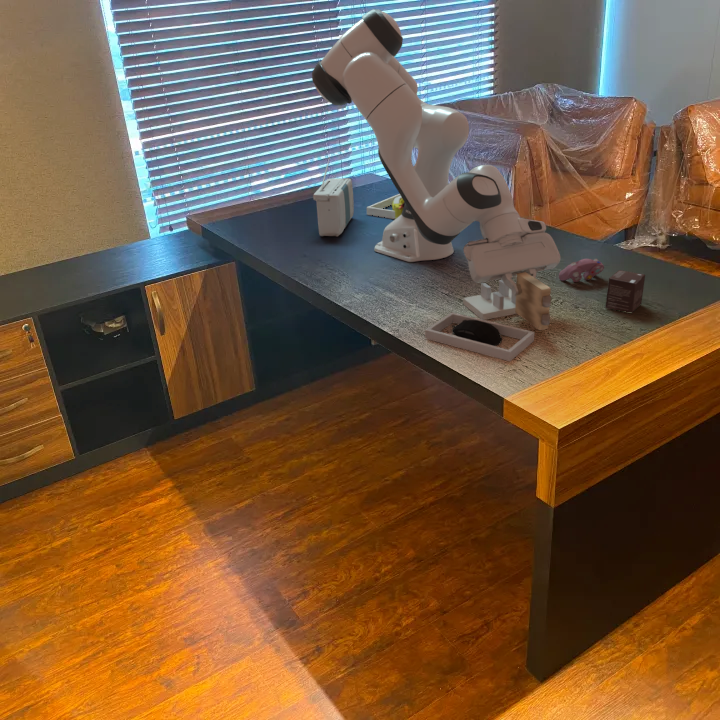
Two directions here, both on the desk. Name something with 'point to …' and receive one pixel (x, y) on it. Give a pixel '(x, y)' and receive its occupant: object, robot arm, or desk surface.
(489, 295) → the white slotted stand
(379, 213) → the white rectangular tray
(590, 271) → the video game controller
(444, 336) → the mouse tray
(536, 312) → the tan upright panel
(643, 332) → the desk surface
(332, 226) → the stereo radio cassette player
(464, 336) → the gaming mouse
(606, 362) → the desk surface
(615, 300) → the box
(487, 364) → the desk surface
